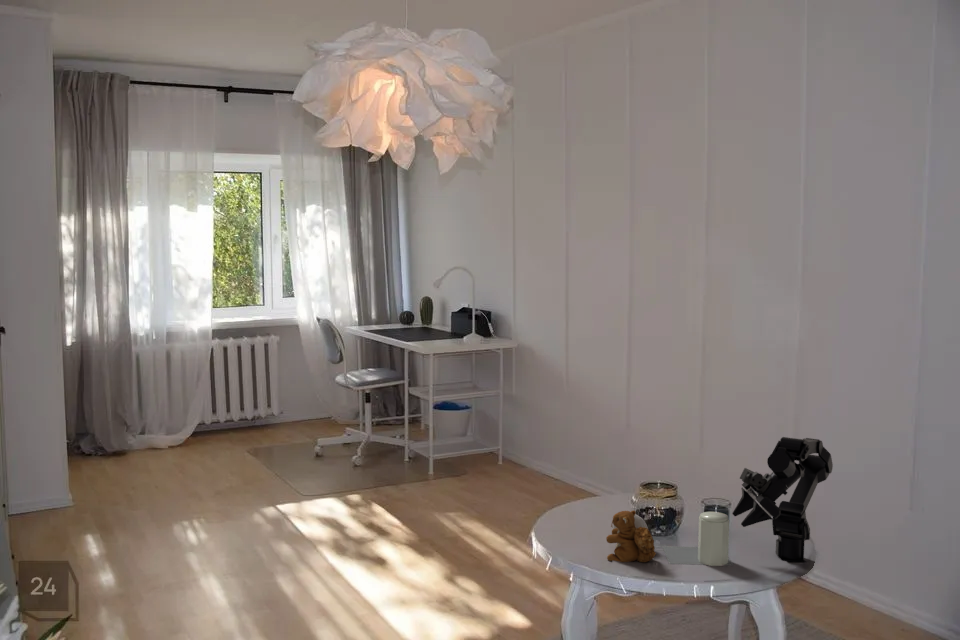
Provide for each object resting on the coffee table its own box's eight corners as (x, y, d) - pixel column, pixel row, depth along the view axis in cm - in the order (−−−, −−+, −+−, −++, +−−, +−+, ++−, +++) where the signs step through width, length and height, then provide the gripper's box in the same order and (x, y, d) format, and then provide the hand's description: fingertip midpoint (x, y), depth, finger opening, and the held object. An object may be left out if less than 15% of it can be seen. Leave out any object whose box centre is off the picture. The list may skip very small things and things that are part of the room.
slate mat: (723, 549, 254) (723, 547, 254) (733, 566, 240) (733, 565, 240) (662, 547, 255) (662, 546, 255) (669, 565, 241) (669, 563, 241)
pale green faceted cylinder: (723, 556, 246) (724, 511, 245) (729, 566, 239) (731, 520, 238) (696, 555, 247) (697, 511, 246) (701, 565, 239) (702, 519, 238)
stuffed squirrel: (618, 549, 253) (619, 503, 252) (664, 560, 245) (665, 512, 243) (600, 559, 245) (601, 511, 244) (647, 570, 237) (648, 522, 236)
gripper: (750, 451, 250) (709, 489, 251) (769, 467, 231) (725, 509, 233) (778, 479, 250) (737, 517, 252) (799, 498, 232) (755, 539, 233)
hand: (737, 520), depth 242 cm, fingers open, 9 cm apart
